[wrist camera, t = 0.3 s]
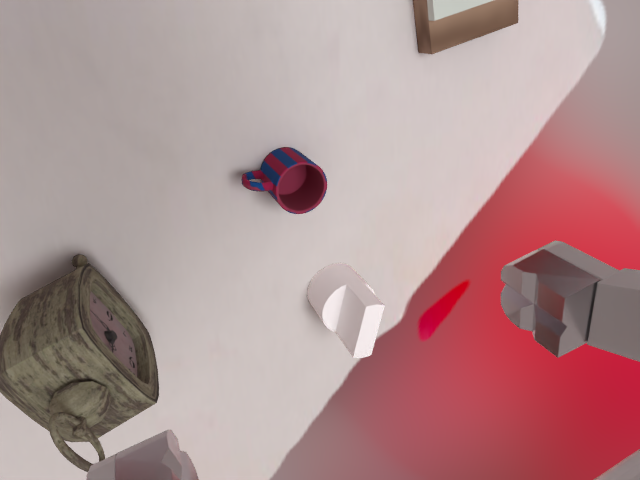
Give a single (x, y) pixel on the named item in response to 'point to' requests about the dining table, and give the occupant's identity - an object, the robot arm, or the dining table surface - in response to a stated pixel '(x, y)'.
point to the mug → (289, 180)
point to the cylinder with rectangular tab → (347, 307)
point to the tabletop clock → (77, 360)
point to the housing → (461, 24)
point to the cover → (450, 7)
